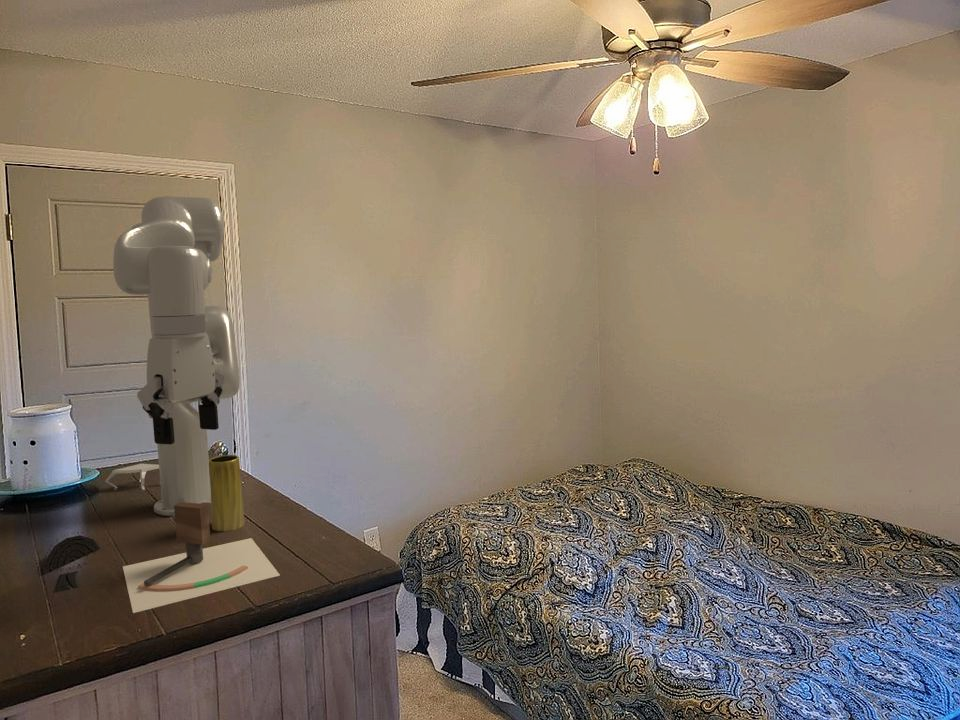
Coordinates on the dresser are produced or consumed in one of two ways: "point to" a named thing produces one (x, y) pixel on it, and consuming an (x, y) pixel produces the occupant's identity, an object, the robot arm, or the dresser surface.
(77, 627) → the dresser surface
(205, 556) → the board
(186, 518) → the tuner needle gauge
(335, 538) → the dresser surface
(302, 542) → the dresser surface
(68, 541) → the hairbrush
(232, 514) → the vase
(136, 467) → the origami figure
